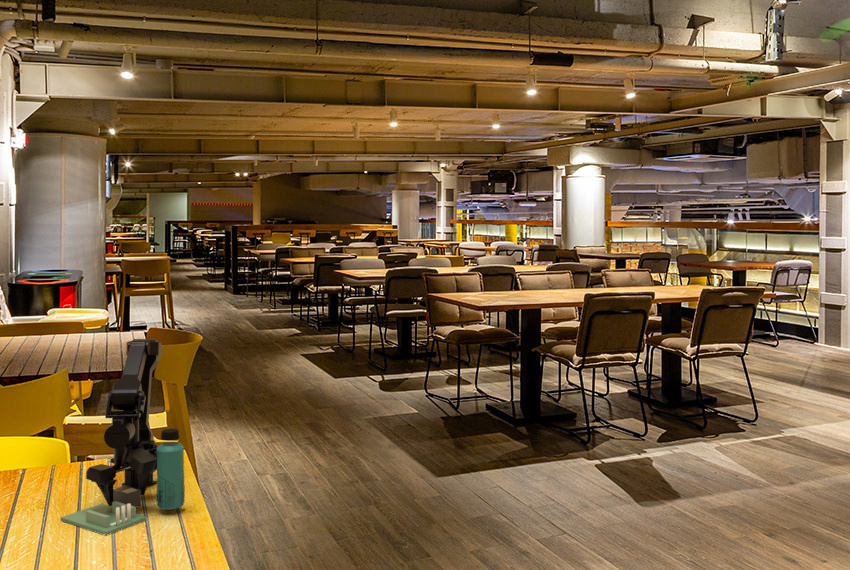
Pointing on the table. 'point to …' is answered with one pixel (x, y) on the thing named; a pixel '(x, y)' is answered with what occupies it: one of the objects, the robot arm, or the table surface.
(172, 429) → the beverage bottle
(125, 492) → the plug
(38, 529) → the table surface
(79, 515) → the board
